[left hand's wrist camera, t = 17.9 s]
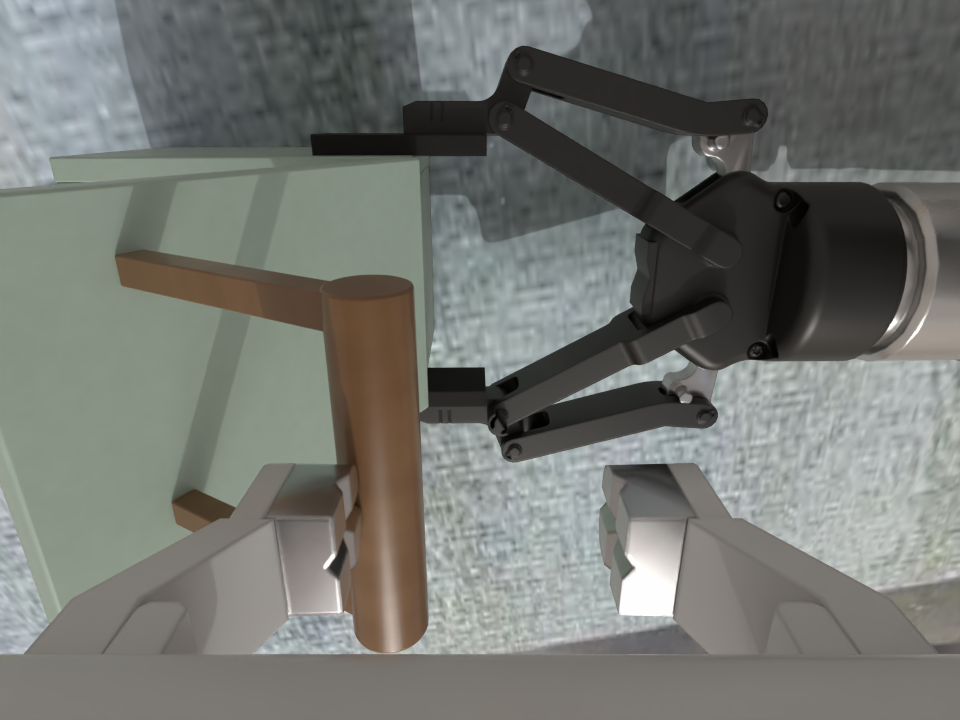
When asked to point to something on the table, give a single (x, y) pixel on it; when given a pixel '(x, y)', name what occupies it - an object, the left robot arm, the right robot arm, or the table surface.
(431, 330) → the chest
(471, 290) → the table surface
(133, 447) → the lid
